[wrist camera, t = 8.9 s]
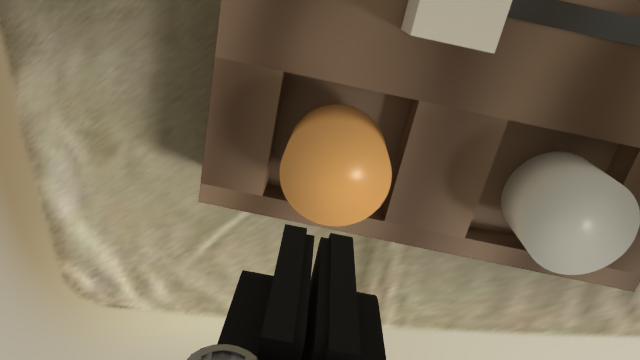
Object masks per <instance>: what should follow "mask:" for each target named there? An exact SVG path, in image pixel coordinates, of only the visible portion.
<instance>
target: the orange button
mask: <svg viewBox="0 0 640 360" xmlns="http://www.w3.org/2000/svg"><path fill="white" fill-rule="evenodd" d="M279 174H280V183H281V187H282V191H283V193H284V195H285V197H286V199H287V201H288V202H289V204H290V205H291V206H292V207H293V208H294V209H295V210H296V211H297V212H298V213H299V214H300V215H302V216H303V217H305V218H306V219H308V220H310V221H312V222H315V223H318V224H321V225H326V226H346V225H351V224H354V223H357V222H360V221H362V220H364V219H366V218H367V217H369V216H370V215H372V214H373V213H374V212H375V211H376V210H377V209H378V208H379V207H380V206H381V205H382V203H383V202H384V200H385V198H386V197H387V195H388V192H389V189H390V185H391V180H392V169H391V164H390V159H389V155H388V152H387V148H386V144H385V140H384V137H383V134H382V132H381V130H380V128H379V126H378V125H377V123H376V122H375V121H374V120H373V119H372V118H371V117H370V116H369V115H368V114H366V113H365V112H363V111H362V110H360V109H357V108H355V107H352V106H349V105H343V104H331V105H325V106H321V107H319V108H316V109H314V110H312V111H310V112H309V113H308V114H306V115H305V116H304V117H303V118H302V119H301V120H300V121H299V122H298V123H297V125H296V126H295V128H294V130H293V132H292V134H291V137H290V139H289V142H288V144H287V147H286V149H285V152H284V154H283V157H282V160H281V164H280V171H279Z"/></svg>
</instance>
